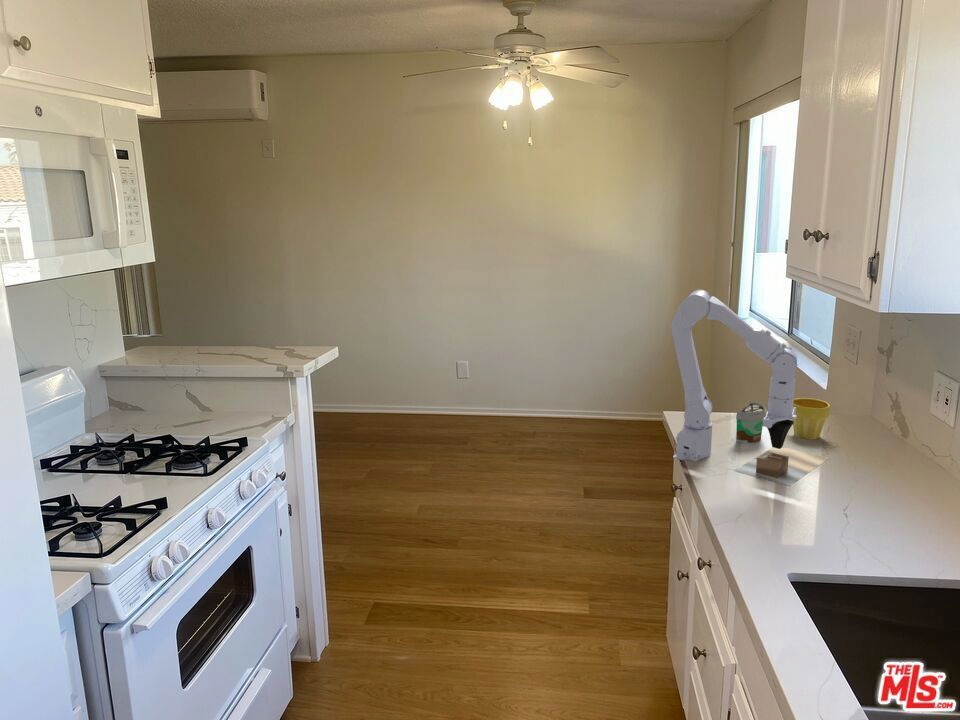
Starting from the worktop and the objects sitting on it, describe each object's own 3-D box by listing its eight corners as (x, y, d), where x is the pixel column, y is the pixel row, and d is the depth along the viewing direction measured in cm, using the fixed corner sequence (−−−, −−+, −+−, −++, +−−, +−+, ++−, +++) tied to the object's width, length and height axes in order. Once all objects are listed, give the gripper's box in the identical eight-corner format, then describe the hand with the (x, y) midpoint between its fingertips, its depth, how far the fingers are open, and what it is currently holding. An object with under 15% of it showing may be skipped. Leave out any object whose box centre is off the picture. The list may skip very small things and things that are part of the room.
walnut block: (777, 478, 174) (779, 462, 174) (755, 472, 178) (756, 456, 177) (787, 471, 178) (788, 456, 177) (765, 466, 182) (766, 450, 181)
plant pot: (829, 432, 207) (832, 400, 205) (824, 444, 199) (827, 410, 196) (791, 427, 213) (793, 395, 210) (784, 438, 204) (787, 405, 202)
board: (789, 490, 170) (789, 486, 170) (733, 474, 180) (733, 470, 180) (829, 461, 186) (829, 458, 186) (775, 448, 196) (776, 445, 196)
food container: (757, 450, 195) (759, 415, 193) (734, 446, 199) (736, 411, 196) (770, 437, 205) (772, 404, 202) (748, 433, 208) (750, 400, 206)
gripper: (784, 406, 173) (780, 459, 176) (809, 393, 183) (804, 443, 186) (756, 400, 178) (752, 451, 181) (782, 388, 188) (777, 437, 191)
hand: (777, 447), depth 184 cm, fingers closed
